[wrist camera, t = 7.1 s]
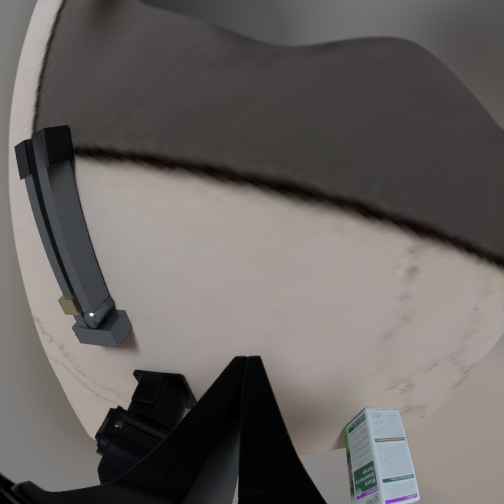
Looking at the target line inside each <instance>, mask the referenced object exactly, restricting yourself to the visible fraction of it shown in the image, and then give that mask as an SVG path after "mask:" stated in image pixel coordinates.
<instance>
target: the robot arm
mask: <svg viewBox="0 0 504 504" xmlns="http://www.w3.org/2000/svg"><path fill="white" fill-rule="evenodd" d="M133 375H134V377H135V378H136V380H137V381H138V385H137V387H136V389H135V392H134V394H133V396H132V398H131V399H132V401H131V403H130V405H129V407H128V410H125V409H123V407H121V406H119V405H118V407H117V409H116V408H115V409H114V408H110V410H109V412H108V414H107V416H106V418H105V420H104V422H103V423H102V425H101V427H100V428H99V430H98V432H97V433H96V435H95V439H96V441H97V443H98V444H97V447H98V449H97V451H96V453H98V454H100V455H102V459H101V461H100V463H99V466H98V474H99V479H100V483H101V485H97V486H92V487H87V488H81V489H75V490H69V491H61V492H49V491H46V490H44V489H42V488H41V487H39V486H38V485H36V484H34V483H33V482H31V481H25V482H21V483H18V484H15V483H14V482H13V481H11V480H10V479H8V478H7V477H6V476H4V475H3V474H2V473H0V504H232V502H233V498H234V493H235V488H236V484H237V478H238V474H239V480H238V498H239V499H238V504H327V503H326V501H325V500H324V499H323V497H322V495H321V494H320V492H319V491H318V490H317V487H316V486H315V484H314V483H313V481H312V479H311V478H310V476H309V475H308V473H307V472H306V470H305V468H304V466H303V464H302V463H301V461H300V459H299V457H298V455H297V453H296V450H295V448H294V446H293V444H292V441H291V438H290V436H289V434H288V431H287V428H286V425H285V423H284V420H283V417H282V415H281V412H280V409H279V406H278V404H277V401H276V398H275V395H274V393H273V390H272V387H271V384H270V382H269V379H268V376H267V373H266V370H265V368H264V365H263V362H262V359H261V357H260V356H248V357H247V356H236V357H234V358H233V359H232V361H231V362H230V363H229V364H228V366H227V367H226V368H225V369H224V371H223V372H222V373H221V374H220V376H219V377H218V378H217V379H216V380H215V382H214V383H213V384H212V385H211V386H210V388H209V389H208V390H207V391H206V392H205V394H204V395H203V396H202V397H201V398H200V399H199V401H198V402H196V400H195V398H194V396H193V394H192V392H191V390H190V388H189V386H188V384H187V382H186V380H185V378H184V376H183V375H181V374H172V373H160V372H150V371H141V370H134V372H133ZM185 408H189V409H191V410H190V411H189V412H188V413H187V415H186V416H185V417H184V418H183V415H184V412H185ZM182 418H183V419H182ZM116 425H117V426H119V427H116ZM120 427H121V428H120Z"/></svg>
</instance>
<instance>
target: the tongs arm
mask: <svg viewBox="0 0 504 504" xmlns="http://www.w3.org/2000/svg"><path fill="white" fill-rule="evenodd" d="M32 139H33V146H34V153H35V159H36V165H37V171H38V176H39V181H40V185H41V190H42V194H43V198H44V203H45V206H46V210H47V214H48V218H49V221H50V225H51V228H52V231H53V235H54V238H55V241H56V244H57V247H58V250H59V253H60V256H61V258H62V261H63V264H64V267H65V269H66V272H67V274H68V277H69V280H70V282H71V284H72V287H73V289H74V292H75V294H76V296H77V299H78V301H79V303H80V305H81V308H82V310H83V312H84V313H85V314H84V316H83V318H84V320H85V322H86V323H87V324H88V325H89V326H90V327H92V328H96V327H97V326H98V325H99V324H100V322H101V321H102V320H103V318H104V317H105V316H106V315H107V313H108V312H109V311H110V310H111V308H112V307H113V305H114V303H113V300H112V299H111V297H110V296H109V294H108V291H107V289H106V286H105V283H104V281H103V278H102V275H101V273H100V270H99V267H98V264H97V261H96V258H95V255H94V252H93V249H92V246H91V243H90V240H89V236H88V233H87V230H86V226H85V223H84V219H83V215H82V212H81V208H80V204H79V200H78V195H77V191H76V187H75V182H74V177H73V172H72V167H71V162H70V160H72V159H73V154H72V148H71V142H70V135H69V127H68V125H65V126H56V127H49V128H43V129H42V130H40V131H38V132H36V133H35V134H33V135H32Z"/></svg>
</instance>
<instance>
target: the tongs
mask: <svg viewBox="0 0 504 504" xmlns="http://www.w3.org/2000/svg"><path fill="white" fill-rule="evenodd" d="M15 153H16V159H17V165H18V170H19V175H20V180H22V179H25V183H26V188H27V192H28V196H29V200H30V204H31V207H32V211H33V214H34V218H35V221H36V225H37V228H38V231H39V234H40V237H41V240H42V243H43V246H44V249H45V251H46V254H47V257H48V259H49V262H50V265H51V267H52V270H53V272H54V274H55V277H56V279H57V282H58V284H59V286H60V288H61V291H62V293H63V296H62V297H61V298H60V299H59V300H58V301H59V303H60V305H61V307H62V309H63V311H64V313H65V314H67V315H73V316H74V318H75V320H76V323H75V324H74V326H73V327H72V329H73V331H74V332H75V334H76V336H77V338H78V340H79V341H80V343H84V344H92V345H100V346H108V347H119V346H120V344H121V343H122V341H123V340H124V338H125V336H126V335H127V333H128V332H129V330H130V329H131V327H132V325H131V323H130V321H129V319H128V317H127V314H126V312H125V310H110V311H109V312H108V313H107V315H106V316H105V317H104V318H103V320H102V321H101V322H100V324H99V325H98V326H97V327H96V328H92V327H90V326H89V325H88V324H87V323H86V322H85V320H84V318H83V316H84V314H85V313H84V312H83V310H82V308H81V305H80V303H79V301H78V299H77V296H76V294H75V292H74V289H73V287H72V284H71V282H70V280H69V277H68V274H67V272H66V269H65V267H64V264H63V261H62V258H61V256H60V253H59V250H58V247H57V244H56V241H55V238H54V235H53V231H52V228H51V225H50V221H49V218H48V214H47V210H46V206H45V203H44V198H43V194H42V190H41V185H40V181H39V176H38V171H37V165H36V159H35V153H34V146H33V139H28V140H24V141H22V142H21V143H19V144H18V145H16V146H15Z"/></svg>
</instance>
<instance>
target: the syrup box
mask: <svg viewBox="0 0 504 504" xmlns="http://www.w3.org/2000/svg"><path fill="white" fill-rule="evenodd" d="M343 430H344V437H345V445H346V453H347V461H348V471H349V481H350V492H351V504H412V503H414V502H416V501H418V500H419V499H420V496H419V491H418V486H417V481H416V477H415V471H414V467H413V463H412V458H411V454H410V450H409V446H408V442H407V439H406V435H405V431H404V428H403V424H402V420H401V417H400V413H399V411H398V410H397V409H384V408H365V409H364V410H363V412H362V413H360V414H359V415H358V416H357V417H356V418H355V419H354V420H353V421H352V422H351V423H350V424H349V425H347V426H346V427H345V428H344V429H343Z"/></svg>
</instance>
